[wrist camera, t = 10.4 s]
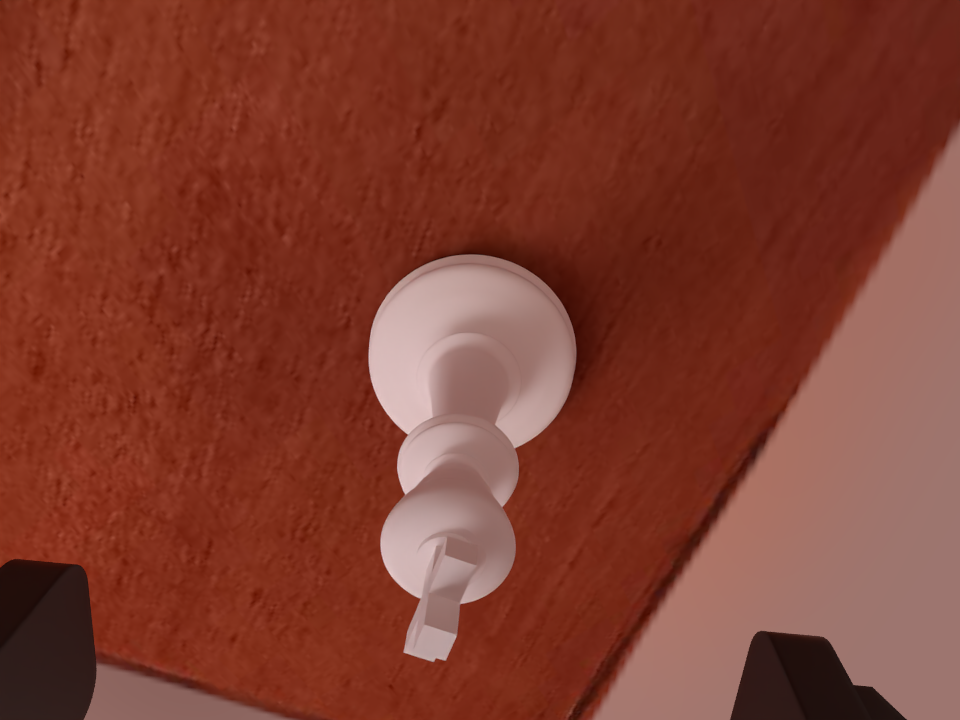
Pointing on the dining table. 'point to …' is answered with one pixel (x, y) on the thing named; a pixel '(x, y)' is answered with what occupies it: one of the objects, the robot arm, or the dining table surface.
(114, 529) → the dining table surface
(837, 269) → the dining table surface
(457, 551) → the chess piece
